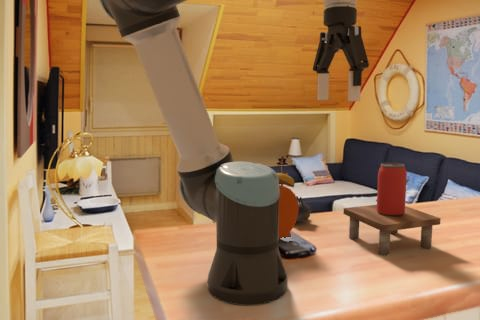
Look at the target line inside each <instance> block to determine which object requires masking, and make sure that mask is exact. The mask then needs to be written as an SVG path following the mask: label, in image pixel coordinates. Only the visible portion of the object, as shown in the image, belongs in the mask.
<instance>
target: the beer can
mask: <svg viewBox="0 0 480 320" xmlns="http://www.w3.org/2000/svg"><path fill="white" fill-rule="evenodd" d="M405 166H406V165H405V163H398V162H382V163H381V164H380V167H379V169H378V173H377V189H376V190H377V192H376V193H377V194H376V205H377V212H378V213H380V214H382V215H387V216H400V215H402V214H404V213H405V206H406V195H407V178H408V177H407V176H408V175H407V174H408V173H407V169H406V167H405Z"/></svg>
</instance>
